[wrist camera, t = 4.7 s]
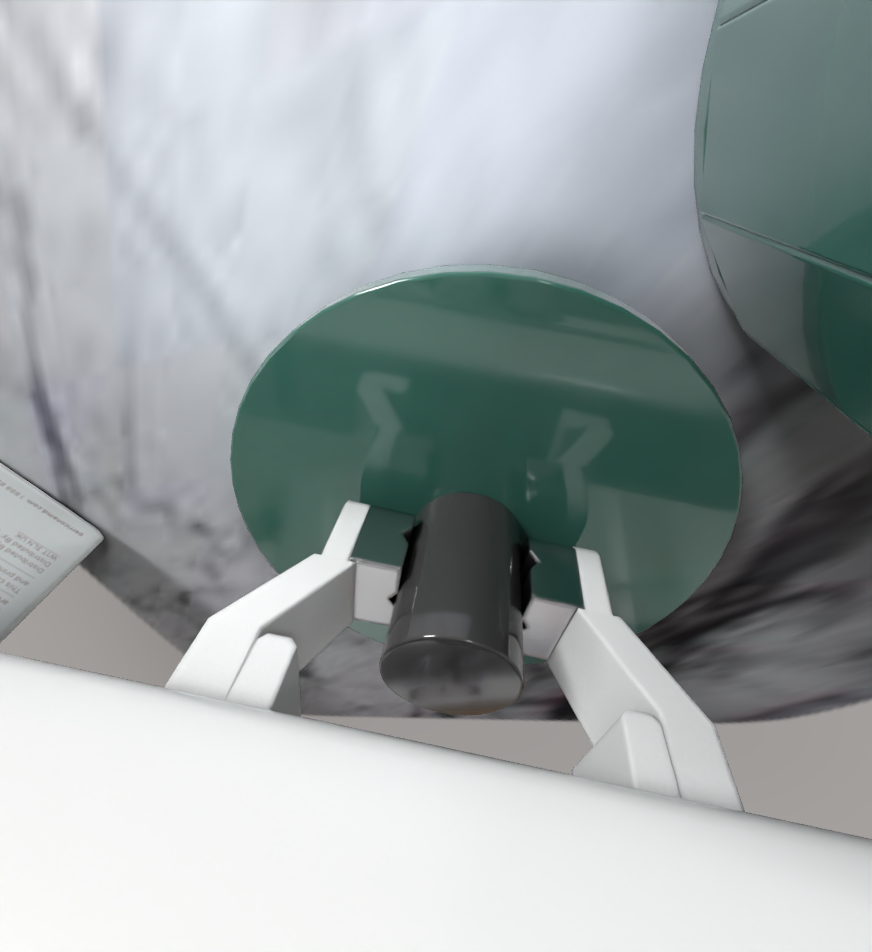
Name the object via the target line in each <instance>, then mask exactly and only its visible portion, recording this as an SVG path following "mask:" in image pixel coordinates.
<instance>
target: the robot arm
mask: <svg viewBox="0 0 872 952" xmlns="http://www.w3.org/2000/svg"><path fill="white" fill-rule="evenodd" d="M415 521H416V515H414V514H409V513H405V512H401V511H396V510H392V509H388V508H383V507H379V506H375V505H368V504H364V503H359V502H355V501H351V500H348V501H347V503H346V504H345V505H344V507H343V509H342V511H341V513H340V515H339V518H338V520H337V522H336V524H335V526H334V528H333V531H332V533H331V535H330V537H329V539H328V541H327V543H326V546H325V548H324V550H323V552H322V554H321V555H319V554H313V555H311V556H309V557H308V558H306V559H305V560H303V561H301V562H300V563H298V564H296V565H295V566H293V567H291V568H290V569H288V570H286V571H285V572H283V573H282V574H280V575H278V576H277V577H275V578H273V579H272V580H270V581H268V582H267V583H265V584H263V585H262V586H260V587H259V588H257V589H255V590H254V591H252V592H250V593H249V594H247V595H245V596H244V597H242V598H241V599H239V600H237V601H236V602H234V603H232V604H231V605H229V606H227V607H226V608H224V609H222V610H221V611H219V612H218V613H216V614H214V615H213V616H211V617H209V618H208V620H207V621H206V623H205V624H204V626H203V627H202V629H201V631H200V632H199V634H198V635H197V637H196V638H195V640H194V641H193V643H192V644H191V646H190V648H189V649H188V651H187V652H186V654H185V655H184V657H183V658H182V660H181V662H180V663H179V665H178V666H177V668H176V670H175V671H174V672H173V674H172V676H171V677H170V679H169V680H168V682H167V684H166V685H165V686H164V687H160V686H156V685H151V684H146V683H142V682H137V681H132V680H128V679H123V678H118V677H114V676H109V675H104V674H99V673H95V672H90V671H85V670H81V669H76V668H72V667H67V666H62V665H58V664H53V663H48V662H43V661H39V660H34V659H29V658H25V657H20V656H16V655H11V654H6V653H2V652H0V952H872V839H869V838H864V837H859V836H854V835H850V834H845V833H841V832H836V831H831V830H827V829H822V828H817V827H812V826H808V825H803V824H799V823H794V822H789V821H785V820H780V819H775V818H771V817H766V816H761V815H756V814H752V813H747V812H745V811H744V808H743V805H742V802H741V799H740V796H739V793H738V790H737V788H736V785H735V782H734V779H733V776H732V773H731V770H730V767H729V764H728V762H727V759H726V756H725V753H724V750H723V747H722V744H721V742H720V739H719V736H718V733H717V730H716V727H715V725H714V724H713V723H712V722H711V721H710V719H709V718H708V717H707V716H706V715H705V714H704V713H703V711H702V710H701V709H700V708H699V707H698V706H697V705H696V703H695V702H694V701H693V700H692V699H691V698H690V697H689V695H688V694H687V693H686V692H685V691H684V690H683V688H682V687H681V686H680V685H679V684H678V683H677V682H676V680H675V679H674V678H673V677H672V676H671V675H670V674H669V672H668V671H667V670H666V669H665V668H664V667H663V665H662V664H661V663H660V662H659V661H658V660H657V659H656V657H655V656H654V655H653V654H652V653H651V652H650V651H649V649H648V648H647V647H646V646H645V645H644V644H643V643H642V641H641V640H640V639H639V638H638V637H637V636H636V634H635V633H634V632H633V631H632V630H631V629H630V628H629V626H628V625H627V624H626V623H625V622H624V621H623V620H622V618H621V617H617V616H613V612H612V608H611V603H610V599H609V594H608V590H607V585H606V581H605V576H604V572H603V567H602V563H601V558H600V555H599V553H598V552H597V551H594V550H589V549H584V548H579V547H571V546H567V545H562V544H557V543H552V542H547V541H542V540H537V539H532V538H526V539H525V541H524V542H523V545H522V547H521V567H522V611H523V654H524V655H526V656H531V657H535V658H539V659H543V660H547V664H548V666H549V667H550V669H551V671H552V673H553V675H554V676H555V678H556V680H557V682H558V684H559V685H560V687H561V689H562V691H563V693H564V694H565V696H566V698H567V700H568V702H569V704H570V705H571V707H572V709H573V711H574V713H575V714H576V716H577V718H578V720H579V722H580V723H581V725H582V727H583V729H584V731H585V732H586V734H587V736H588V738H589V740H590V742H591V743H592V745H593V747H592V748H591V749H590V750H589V752H588V753H587V754H586V755H585V756H584V757H583V758H582V759H581V760H580V761H579V763H578V764H577V765H576V766H575V767H574V768H573V769H572V775H570V774H565V773H561V772H557V771H552V770H547V769H543V768H538V767H533V766H529V765H524V764H519V763H515V762H510V761H505V760H500V759H496V758H492V757H486V756H482V755H477V754H473V753H468V752H463V751H459V750H454V749H450V748H445V747H440V746H435V745H431V744H426V743H422V742H417V741H412V740H408V739H403V738H398V737H393V736H389V735H384V734H380V733H375V732H370V731H366V730H361V729H356V728H352V727H347V726H342V725H337V724H333V723H328V722H324V721H319V720H314V719H309V718H305V717H301V714H302V708H301V695H300V682H299V671H300V670H301V669H303V668H304V667H305V666H306V665H307V664H308V663H309V662H310V661H311V660H312V659H313V658H314V657H316V656H317V655H318V654H319V653H320V652H321V651H322V650H323V649H324V648H325V647H326V646H327V645H329V644H330V643H331V642H332V641H333V640H334V639H335V638H336V637H337V636H338V635H339V634H340V633H341V632H343V631H344V630H345V629H346V628H347V627H348V626H349V625H350V624H351V623H352V622H353V620H358V621H363V622H369V623H374V624H380V625H385V626H389V623H390V619H391V615H392V611H393V607H394V603H395V599H396V595H397V593H398V591H399V587H400V583H401V579H402V576H403V572H404V568H405V563H406V557H407V552H408V550H409V548H410V544H411V540H412V536H413V532H414V528H415Z"/></svg>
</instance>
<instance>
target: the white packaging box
mask: <svg viewBox="0 0 872 952" xmlns="http://www.w3.org/2000/svg"><path fill="white" fill-rule="evenodd" d="M103 539H104V537H103V536H102V534H101V533H100V531H99V530H98V529H97V528H95V527H94V526H92V525H91V524H89V523H88V522H86V521H85V520H83V519H82V518H81V517H79V516H78V515H76V514H75V513H74V512H72V511H71V510H69V509H68V508H67V507H65V506H64V505H62V504H61V503H59V502H58V501H56V500H54V499H53V498H51V497H50V496H48V495H47V494H45V493H44V492H43V491H41V490H40V489H38V488H37V487H35V486H34V485H32V484H31V483H30V482H28V481H27V480H25V479H24V478H22V477H21V476H19V475H18V474H16V473H15V472H13V471H12V470H10V469H9V468H7V467H6V466H4V465H3V464H1V463H0V643H1V642H2V641H3V640H4V639H5V638H6V637H7V636H8V635H9V634H10V633H11V631H13V630H14V629H15V628H16V627H17V626H18V625H19V623H20V622H21V621H23V620H24V619H25V617H26V616H27V615H28V614H29V613H30V612H31V611H32V610H33V609H34V608H35V607H36V606H37V605H38V604H39V603H40V602H41V601H42V600H43V599H44V598H45V597H46V596H47V595H48V594H49V593H50V592H51V591H52V590H53V589H54V588H55V587H56V586H57V585H58V584H59V583H60V582H61V581H62V580H63V579H64V578H65V577H66V576H67V575H68V574H69V573H70V572H71V571H72V570H74V568H76V567H77V566H78V565H79V564H80V563H81V562H82V561H83V560H84V559H85V558H86V557H87V556H88V555H89V554H90V553H91V552H92V551H93V550H94V549H95V548H96V547H97V546H98V545H99V544H100V543H101V542H102V541H103Z"/></svg>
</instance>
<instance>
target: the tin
mask: <svg viewBox="0 0 872 952" xmlns="http://www.w3.org/2000/svg"><path fill="white" fill-rule="evenodd" d="M694 188H695V196H696V205H697V213H698V221H699V229H700V233H701V237H702V240H703V244H704V248H705V251H706V255H707V258H708V262H709V266H710V269H711V271H712V273H713V276H714V278H715V280H716V282H717V284H718V286H719V288H720V290H721V293H722V295H723V297H724V299H725V301H726V303H727V304H728V306H729V307H730V308H731V310H732V311H733V313H734V314H735V315H736V317H737V319H738V322H739V325H740V327H741V328H742V329H743V331H744V333H745V334H746V335H748V336H749V337H750V338H751V339H753V340H754V341H755V342H756V343H757V344H759V345H760V346H761V347H762V348H763V349H765V350H766V351H767V352H768V353H770V354H771V355H772V356H773V357H774V358H776V359H777V360H778V361H779V362H780V363H782V364H783V365H784V366H785V367H787V368H788V369H789V370H790V371H791V372H793V373H794V374H795V375H796V376H797V377H799V378H800V379H801V380H802V381H804V382H805V383H806V384H807V385H808V386H810V387H811V388H812V389H813V390H814V391H816V392H817V393H818V394H819V395H821V396H822V397H823V398H824V399H825V400H827V401H828V402H829V403H830V404H831V405H833V406H834V407H835V408H836V409H838V410H839V411H840V412H841V413H842V414H844V415H845V416H846V417H847V418H848V419H850V420H851V421H852V422H853V423H855V424H856V425H857V426H858V427H859V428H861V429H862V430H863V431H864V432H865V433H867V434H868V435H869V436H870V437H872V0H718V4H717V9H716V13H715V17H714V21H713V26H712V30H711V34H710V39H709V43H708V47H707V52H706V56H705V60H704V65H703V69H702V77H701V85H700V93H699V101H698V109H697V116H696V124H695V145H694Z"/></svg>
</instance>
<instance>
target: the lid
mask: <svg viewBox="0 0 872 952" xmlns="http://www.w3.org/2000/svg"><path fill="white" fill-rule="evenodd" d="M230 460H231V471H232V482H233V487H234V491H235V495H236V499H237V503H238V507H239V509H240V512H241V514H242V517H243V519H244V521H245V524H246V526H247V529H248V530H249V532H250V534H251V536H252V537H253V539H254V541H255V543H256V544H257V546H258V548H259V550H260V551H261V552H262V554H263V555H264V556H265V558H266V559H267V560H268V562H269V563H270V564H271V566H272V567H273V568H274V569H275V570H276V572H277V573H278V574H279V575H280V574H282V573H283V572H285V571H286V570H288V569H290V568H291V567H293V566H295V565H296V564H298V563H300V562H301V561H303V560H305V559H306V558H308V557H309V556H311V555H313V554H319V555H321V554H322V552H323V550H324V548H325V546H326V543H327V541H328V539H329V537H330V535H331V533H332V531H333V528H334V526H335V524H336V522H337V520H338V518H339V515H340V513H341V511H342V509H343V507H344V505H345V504H346V503H347V501H348V500H351V501H355V502H359V503H364V504H368V505H375V506H379V507H383V508H388V509H392V510H396V511H401V512H405V513H409V514H414V515H416V521H415V528H414V532H413V536H412V540H411V544H410V548H409V550H408V552H407V557H406V563H405V568H404V572H403V576H402V579H401V583H400V587H399V591H398V593H397V595H396V599H395V603H394V607H393V611H392V615H391V619H390V623H389V626H385V625H380V624H374V623H369V622H363V621H358V620H353V622H352V623H351V624H350V625H349V626H348V628H350V629H352V630H354V631H356V632H358V633H360V634H362V635H364V636H366V637H368V638H370V639H373V640H375V641H378V642H380V643H383V644H384V646H383V650H382V654H381V658H380V662H379V668H380V673H381V676H382V678H383V680H384V682H385V683H386V685H387V686H388V687H389V688H390V689H391V690H392V691H393V692H394V693H396V694H397V695H398V696H400V697H401V698H403V699H405V700H407V701H408V702H410V703H413V704H415V705H417V706H420V707H422V708H425V709H428V710H432V711H436V712H440V713H446V714H454V715H481V714H487V713H492V712H496V711H499V710H502V709H504V708H506V707H508V706H510V705H511V704H513V703H514V702H515V701H516V700H517V699H518V698H519V696H520V695H521V693H522V690H523V688H524V665H528V664H537V663H545V662H547V660H543V659H539V658H535V657H531V656H526V655H524V654H523V611H522V567H521V547H522V545H523V542H524V541H525V539H526V538H532V539H537V540H542V541H547V542H552V543H557V544H562V545H567V546H571V547H579V548H584V549H589V550H594V551H597V552H598V553H599V555H600V558H601V563H602V567H603V572H604V576H605V581H606V585H607V590H608V594H609V599H610V603H611V608H612V612H613V616H617V617H621V618H622V620H623V621H624V622H625V623H626V624H627V625H628V626H629V628H630V629H631V630H632V631H633V632H634V633H635V634H636V635H637V634H639V633H641V632H643V631H645V630H647V629H648V628H650V627H651V626H653V625H654V624H656V623H657V622H659V621H661V620H662V619H664V618H665V617H667V616H668V615H669V614H671V613H672V612H673V611H674V610H676V609H677V608H678V607H679V606H680V605H682V604H683V603H684V602H685V601H687V600H688V599H689V598H690V597H691V596H692V595H693V593H694V592H695V591H696V590H697V589H698V588H699V587H700V586H701V585H702V584H703V583H704V582H705V581H706V579H707V578H708V576H709V575H710V574H711V572H712V571H713V569H714V568H715V567H716V565H717V564H718V562H719V561H720V559H721V557H722V555H723V553H724V551H725V549H726V547H727V545H728V543H729V541H730V539H731V537H732V535H733V531H734V528H735V524H736V521H737V517H738V514H739V510H740V503H741V492H742V482H743V476H742V466H741V456H740V448H739V444H738V441H737V438H736V435H735V431H734V428H733V425H732V422H731V418H730V416H729V414H728V412H727V410H726V409H725V407H724V405H723V403H722V401H721V399H720V397H719V395H718V394H717V392H716V390H715V388H714V386H713V385H712V384H711V383H710V381H709V380H708V379H707V377H706V376H705V375H704V374H703V372H702V371H701V370H700V369H699V367H698V366H697V365H696V364H695V362H694V361H693V360H692V359H691V357H690V356H689V355H688V354H687V353H686V351H685V350H684V349H683V348H682V347H681V346H680V345H679V344H678V343H677V342H676V341H675V340H673V339H672V338H671V337H670V336H669V335H668V334H667V333H666V332H664V331H663V330H662V329H661V328H660V327H659V326H658V325H657V324H655V323H654V322H653V321H652V320H650V319H649V318H647V317H645V316H644V315H642V314H641V313H639V312H638V311H636V310H634V309H633V308H631V307H630V306H628V305H627V304H625V303H623V302H622V301H620V300H619V299H617V298H614V297H612V296H610V295H608V294H605V293H603V292H601V291H598V290H596V289H594V288H592V287H589V286H587V285H585V284H582V283H580V282H578V281H574V280H570V279H567V278H563V277H559V276H556V275H552V274H548V273H545V272H541V271H537V270H532V269H524V268H515V267H507V266H499V265H491V264H486V265H445V266H439V267H433V268H427V269H421V270H415V271H409V272H403V273H400V274H397V275H394V276H391V277H387V278H384V279H381V280H378V281H375V282H372V283H369V284H366V285H363V286H361V287H359V288H357V289H355V290H353V291H351V292H349V293H347V294H345V295H343V296H341V297H339V298H337V299H335V300H333V301H331V302H330V303H328V304H327V305H326V306H324V307H323V308H321V309H320V310H319V311H317V312H316V313H314V314H313V315H312V316H310V317H309V318H307V319H306V320H305V321H303V322H302V323H301V324H300V325H298V326H297V327H296V328H295V329H294V330H293V331H292V332H291V333H290V334H289V335H288V336H287V337H286V338H285V339H284V340H283V341H282V342H281V343H280V344H279V345H278V346H277V347H276V348H275V349H274V350H273V351H272V352H271V353H270V354H269V355H268V356H267V358H266V359H265V361H264V362H263V363H262V365H261V366H260V368H259V369H258V371H257V372H256V374H255V375H254V376H253V378H252V379H251V381H250V383H249V386H248V388H247V390H246V392H245V394H244V397H243V399H242V401H241V403H240V405H239V409H238V413H237V417H236V421H235V424H234V428H233V433H232V445H231V458H230Z"/></svg>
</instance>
